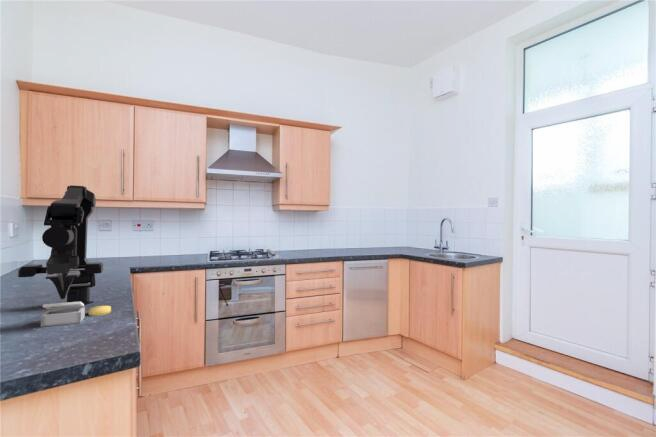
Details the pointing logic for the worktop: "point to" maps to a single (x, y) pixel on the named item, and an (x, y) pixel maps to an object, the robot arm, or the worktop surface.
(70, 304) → the lid
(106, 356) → the worktop surface
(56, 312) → the grey frame
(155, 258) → the worktop surface
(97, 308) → the yellow rounded disc
